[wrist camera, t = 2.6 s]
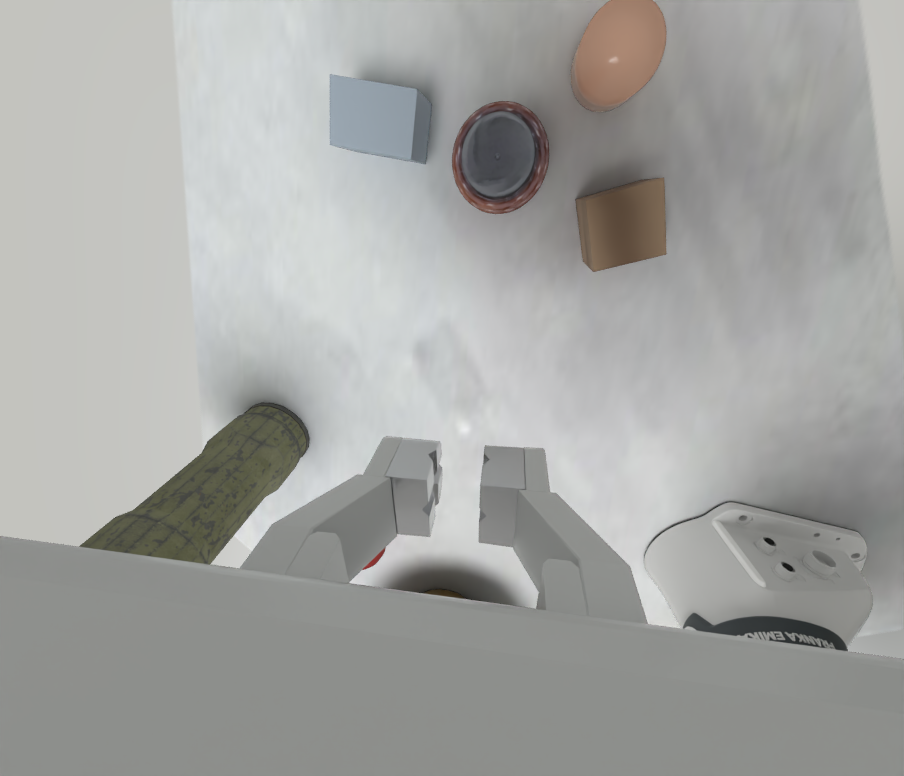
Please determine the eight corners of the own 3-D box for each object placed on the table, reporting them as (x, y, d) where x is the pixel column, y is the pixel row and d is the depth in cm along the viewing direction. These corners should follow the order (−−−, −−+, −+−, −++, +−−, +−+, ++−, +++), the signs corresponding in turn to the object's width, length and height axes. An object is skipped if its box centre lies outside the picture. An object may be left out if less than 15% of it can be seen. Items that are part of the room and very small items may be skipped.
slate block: (432, 104, 29) (417, 88, 24) (425, 164, 31) (410, 159, 26) (357, 92, 29) (329, 74, 25) (356, 151, 31) (329, 145, 27)
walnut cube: (641, 179, 29) (664, 177, 25) (644, 245, 31) (666, 254, 27) (575, 199, 30) (585, 200, 26) (582, 261, 32) (593, 271, 28)
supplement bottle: (550, 190, 30) (569, 188, 20) (483, 222, 32) (469, 236, 22) (526, 108, 28) (533, 61, 18) (454, 148, 30) (425, 126, 20)
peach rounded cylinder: (653, 18, 25) (676, -11, 21) (636, 110, 27) (655, 98, 23) (575, 24, 25) (585, -3, 22) (566, 113, 28) (573, 102, 24)
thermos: (220, 414, 47) (-345, 841, 16) (295, 391, 43) (-239, 877, 13) (259, 468, 50) (-144, 903, 19) (331, 450, 47) (-17, 945, 16)
